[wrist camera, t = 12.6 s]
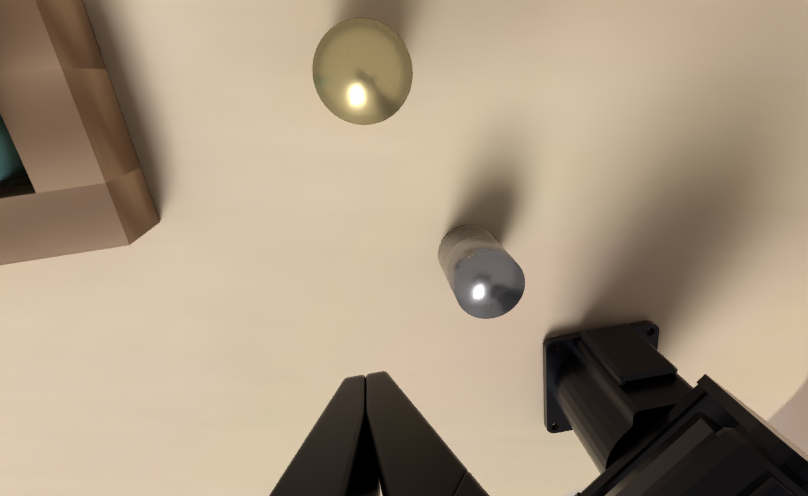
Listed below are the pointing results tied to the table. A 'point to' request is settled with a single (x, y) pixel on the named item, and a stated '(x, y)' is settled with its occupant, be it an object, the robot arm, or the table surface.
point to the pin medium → (362, 71)
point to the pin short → (480, 272)
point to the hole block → (64, 139)
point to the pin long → (9, 155)
